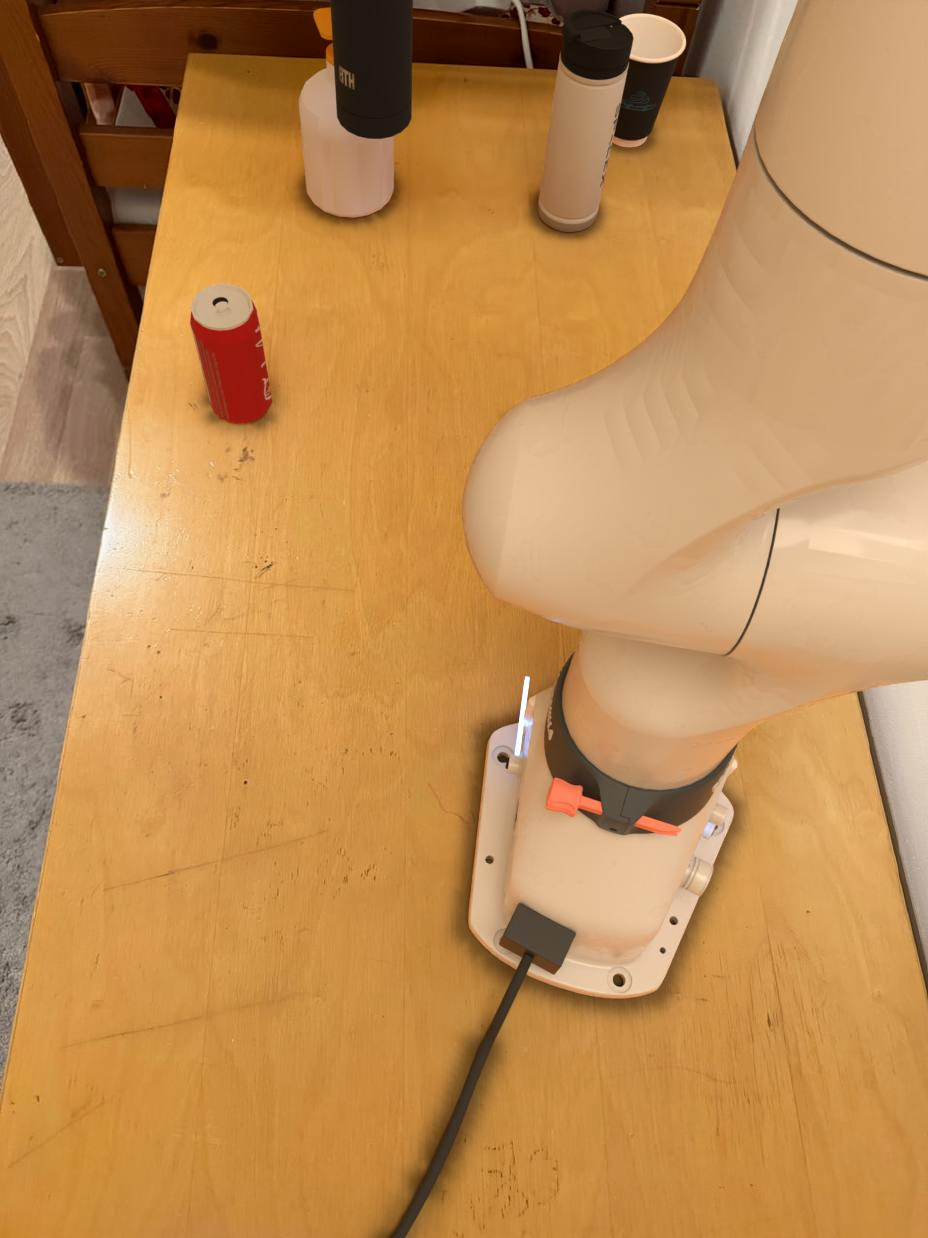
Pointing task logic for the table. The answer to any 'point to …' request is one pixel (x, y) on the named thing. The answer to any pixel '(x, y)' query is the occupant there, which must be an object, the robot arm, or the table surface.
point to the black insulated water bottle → (373, 65)
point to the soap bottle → (340, 148)
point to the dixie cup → (646, 75)
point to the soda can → (231, 352)
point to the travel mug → (583, 118)
